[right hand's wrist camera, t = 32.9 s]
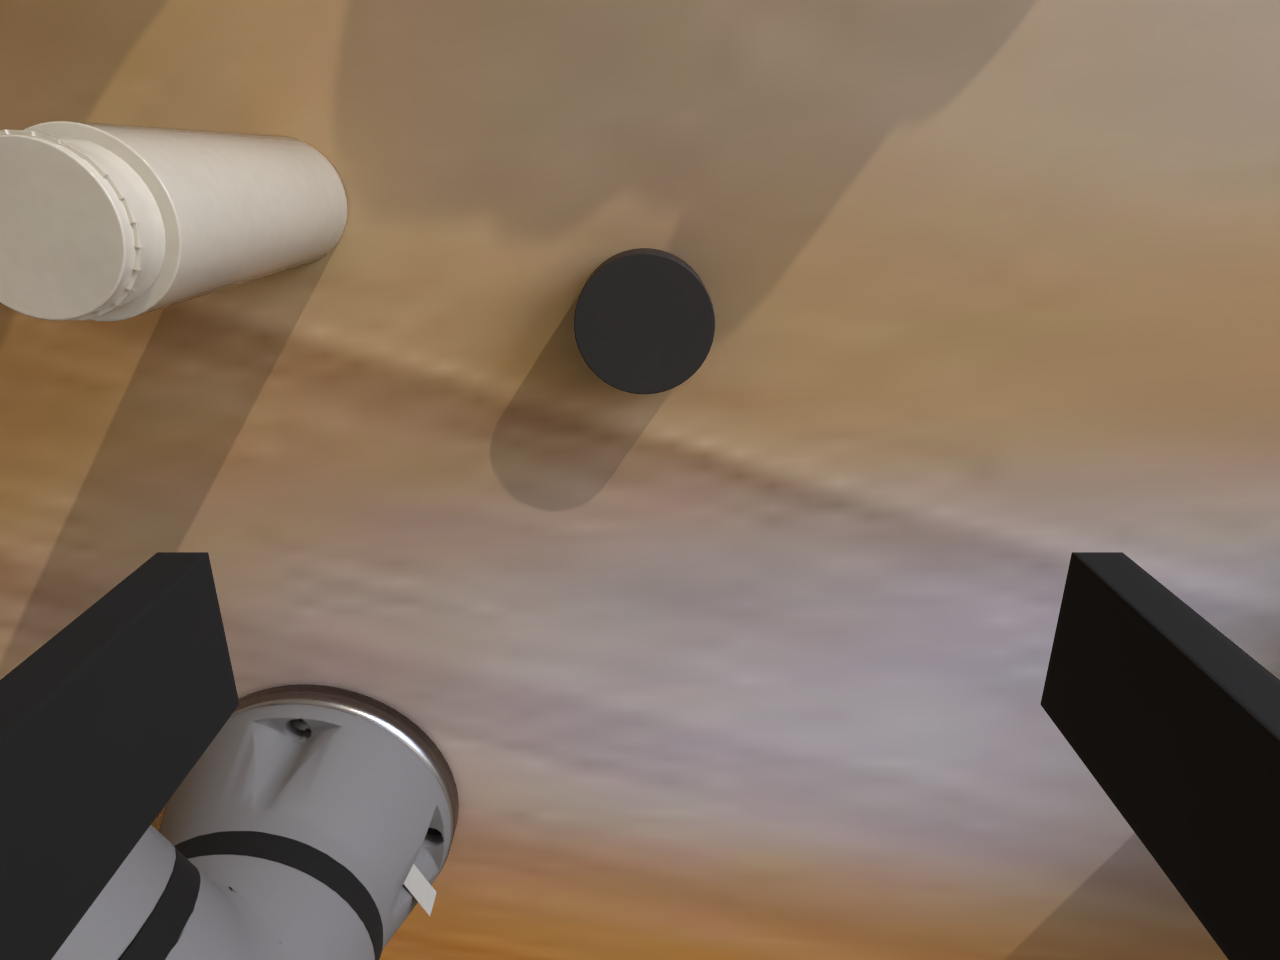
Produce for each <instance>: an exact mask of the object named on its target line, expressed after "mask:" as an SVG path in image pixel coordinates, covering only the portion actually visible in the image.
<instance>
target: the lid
mask: <svg viewBox="0 0 1280 960" xmlns="http://www.w3.org/2000/svg"><path fill="white" fill-rule="evenodd" d="M574 330H575V337H576V341H577V345H578V348H579V350H580V353H581V355H582V357H583V359H584V360H585V362H586V364H587V365H588V366H589V368H590V369H591V370H592V371H593V372H594V373H595V374H596V375H597V376H598V377H599V378H600V379H602V380H603V381H604V382H606V383H607V384H609V385H611V386H613V387H615V388H617V389H619V390H622V391H626V392H629V393H636V394H653V393H659V392H663V391H667V390H669V389H672V388H674V387H676V386H678V385H680V384H682V383H683V382H684V381H686V380H687V379H689V378H690V377H691V376H692V375H693V374H694V373H695V372H696V371H697V370H698V369H699V367H700V366H701V365H702V363H703V362H704V360H705V359H706V357H707V355H708V353H709V351H710V348H711V345H712V342H713V337H714V330H715V317H714V310H713V305H712V302H711V299H710V297H709V295H708V293H707V291H706V289H705V287H704V285H703V283H702V281H701V279H700V278H699V276H698V275H697V274H696V272H695V271H694V270H693V269H692V268H691V267H690V266H689V265H688V264H686V263H685V262H684V261H683V260H681V259H679V258H678V257H676V256H674V255H672V254H670V253H667V252H664V251H661V250H656V249H646V248H641V249H632V250H628V251H624V252H622V253H619V254H617V255H615V256H613V257H611V258H609V259H608V260H606V261H605V262H604V263H602V264H601V265H600V266H599V267H598V268H597V269H596V270H595V271H594V272H593V274H592V275H591V276H590V277H589V279H588V281H587V282H586V284H585V286H584V288H583V290H582V293H581V295H580V297H579V300H578V303H577V307H576V311H575V318H574Z"/></svg>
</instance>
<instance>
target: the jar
mask: <svg viewBox="0 0 1280 960" xmlns="http://www.w3.org/2000/svg"><path fill="white" fill-rule="evenodd" d="M346 220H347V200H346V195H345V191H344V188H343V185H342V182H341V180H340V178H339V176H338V174H337V172H336V171H335V169H334V168H333V166H332V165H331V164H330V163H329V161H328V160H327V159H326V158H325V157H324V156H323V155H322V154H321V153H320V152H318V151H317V150H316V149H314V148H313V147H311V146H310V145H308V144H306V143H304V142H302V141H299V140H297V139H294V138H290V137H284V136H273V135H259V134H245V133H230V132H216V131H201V130H187V129H172V128H158V127H143V126H129V125H114V124H100V123H85V122H71V121H51V122H45V123H40V124H36V125H33V126H30V127H28V128H26V129H24V130H5V129H4V130H1V131H0V303H1V304H3V305H5V306H6V307H8V308H10V309H12V310H14V311H16V312H19V313H22V314H24V315H27V316H30V317H34V318H39V319H44V320H78V321H82V320H86V319H87V320H94V321H118V320H125V319H128V318H132V317H135V316H138V315H141V314H145V313H148V312H151V311H154V310H158V309H161V308H164V307H167V306H171V305H174V304H177V303H180V302H184V301H187V300H190V299H193V298H197V297H200V296H203V295H206V294H209V293H213V292H216V291H219V290H222V289H226V288H229V287H232V286H235V285H239V284H242V283H245V282H248V281H252V280H255V279H258V278H261V277H265V276H268V275H271V274H274V273H278V272H281V271H284V270H287V269H291V268H294V267H297V266H300V265H304V264H307V263H310V262H313V261H316V260H318V259H320V258H322V257H323V256H325V255H326V254H328V253H329V252H330V251H331V250H332V249H333V248H334V247H335V245H336V244H337V243H338V241H339V240H340V238H341V236H342V234H343V231H344V228H345V225H346Z"/></svg>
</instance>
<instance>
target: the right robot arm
mask: <svg viewBox="0 0 1280 960" xmlns="http://www.w3.org/2000/svg"><path fill="white" fill-rule="evenodd" d="M1041 706H1042V707H1043V708H1044V710H1045V711H1046V712H1047V714H1048V715H1049V716H1050V718H1051V719H1052V721H1053V722H1054V723H1055V725H1056V726H1057V727H1058V729H1059V730H1060V731H1061V733H1062V734H1063V735H1064V737H1065V738H1066V740H1067V741H1068V742H1069V744H1070V745H1071V746H1072V748H1073V749H1074V750H1075V752H1076V753H1077V754H1078V756H1079V757H1080V759H1081V760H1082V761H1083V763H1084V764H1085V765H1086V767H1087V768H1088V769H1089V771H1090V772H1091V773H1092V775H1093V776H1094V778H1095V779H1096V780H1097V782H1098V783H1099V784H1100V786H1101V787H1102V788H1103V790H1104V791H1105V792H1106V794H1107V795H1108V797H1109V798H1110V799H1111V801H1112V802H1113V803H1114V805H1115V806H1116V807H1117V809H1118V810H1119V811H1120V813H1121V814H1122V816H1123V817H1124V818H1125V820H1126V821H1127V822H1128V824H1129V825H1130V826H1131V828H1132V829H1133V830H1134V832H1135V833H1136V835H1137V836H1138V837H1139V839H1140V840H1141V841H1142V843H1143V844H1144V845H1145V847H1146V848H1147V849H1148V851H1149V852H1150V854H1151V855H1152V856H1153V858H1154V859H1155V860H1156V862H1157V863H1158V864H1159V866H1160V867H1161V868H1162V870H1163V871H1164V873H1165V874H1166V875H1167V877H1168V878H1169V879H1170V881H1171V882H1172V883H1173V885H1174V886H1175V887H1176V889H1177V890H1178V892H1179V893H1180V894H1181V896H1182V897H1183V898H1184V900H1185V901H1186V902H1187V904H1188V905H1189V906H1190V908H1191V909H1192V911H1193V912H1194V913H1195V915H1196V916H1197V917H1198V919H1199V920H1200V921H1201V923H1202V924H1203V925H1204V927H1205V928H1206V929H1207V931H1208V932H1209V934H1210V935H1211V936H1212V938H1213V939H1214V940H1215V942H1216V943H1217V944H1218V946H1219V947H1220V948H1221V950H1222V951H1223V953H1224V954H1225V955H1226V957H1227V958H1228V959H1229V960H1280V680H1279V679H1277V678H1276V677H1275V676H1274V675H1273V674H1271V673H1270V672H1269V671H1268V670H1266V669H1265V668H1264V667H1263V666H1261V665H1260V664H1259V663H1258V662H1257V661H1255V660H1254V659H1253V658H1252V657H1250V656H1249V655H1248V654H1247V653H1245V652H1244V651H1243V650H1242V649H1241V648H1239V647H1238V646H1237V645H1236V644H1234V643H1233V642H1232V641H1231V640H1229V639H1228V638H1227V637H1226V636H1225V635H1223V634H1222V633H1221V632H1220V631H1218V630H1217V629H1216V628H1215V627H1213V626H1212V625H1211V624H1210V623H1209V622H1207V621H1206V620H1205V619H1204V618H1202V617H1201V616H1200V615H1199V614H1197V613H1196V612H1195V611H1194V610H1193V609H1191V608H1190V607H1189V606H1188V605H1186V604H1185V603H1184V602H1183V601H1181V600H1180V599H1179V598H1178V597H1177V596H1175V595H1174V594H1173V593H1172V592H1170V591H1169V590H1168V589H1167V588H1165V587H1164V586H1163V585H1162V584H1161V583H1159V582H1158V581H1157V580H1156V579H1154V578H1153V577H1152V576H1151V575H1149V574H1148V573H1147V572H1146V571H1144V570H1143V569H1142V568H1141V567H1140V566H1138V565H1137V564H1136V563H1135V562H1133V561H1132V560H1131V559H1130V558H1128V557H1127V556H1126V555H1125V554H1124V553H1072V555H1071V560H1070V565H1069V570H1068V574H1067V579H1066V584H1065V589H1064V594H1063V599H1062V603H1061V608H1060V613H1059V618H1058V623H1057V628H1056V633H1055V637H1054V642H1053V647H1052V652H1051V657H1050V662H1049V666H1048V671H1047V676H1046V681H1045V686H1044V691H1043V695H1042V700H1041ZM165 805H166V807H165V811H164V815H163V818H162V822H161V826H160V830H159V832H158V831H157V830H156V829H155V828H154V827H153V826H152V825H151V824H152V822H153V821H154V820H155V818H156V817H157V816H158V814H159V813H160V811H161V810H162V809H163V807H164V806H165ZM458 808H459V804H458V794H457V788H456V784H455V781H454V778H453V775H452V772H451V770H450V768H449V766H448V763H447V762H446V760H445V758H444V757H443V755H442V753H441V752H440V750H439V749H438V748H437V746H436V745H435V744H434V742H433V741H432V740H431V739H430V738H429V737H428V736H427V735H426V734H425V733H424V732H423V731H422V730H421V729H420V728H419V727H418V726H417V725H416V724H414V723H413V722H412V721H411V720H409V719H408V718H407V717H405V716H404V715H402V714H401V713H399V712H398V711H396V710H395V709H393V708H391V707H389V706H387V705H385V704H384V703H382V702H379V701H377V700H375V699H372V698H370V697H368V696H365V695H362V694H359V693H356V692H352V691H348V690H345V689H340V688H335V687H329V686H320V685H288V686H281V687H274V688H270V689H266V690H262V691H258V692H255V693H253V694H250V695H247V696H245V697H243V698H241V699H239V700H238V695H237V691H236V686H235V681H234V676H233V671H232V666H231V662H230V657H229V652H228V647H227V642H226V637H225V633H224V628H223V623H222V618H221V613H220V608H219V603H218V599H217V594H216V589H215V584H214V579H213V574H212V570H211V565H210V560H209V555H208V553H156V554H155V555H154V556H153V557H152V558H150V559H149V560H148V561H147V562H145V563H144V564H143V565H142V566H140V567H139V568H138V569H137V570H136V571H134V572H133V573H132V574H131V575H129V576H128V577H127V578H126V579H124V580H123V581H122V582H121V583H119V584H118V585H117V586H116V587H115V588H113V589H112V590H111V591H110V592H108V593H107V594H106V595H105V596H103V597H102V598H101V599H100V600H99V601H97V602H96V603H95V604H94V605H92V606H91V607H90V608H89V609H87V610H86V611H85V612H84V613H83V614H81V615H80V616H79V617H78V618H76V619H75V620H74V621H73V622H71V623H70V624H69V625H68V626H67V627H65V628H64V629H63V630H62V631H60V632H59V633H58V634H57V635H55V636H54V637H53V638H52V639H51V640H49V641H48V642H47V643H46V644H44V645H43V646H42V647H41V648H39V649H38V650H37V651H36V652H35V653H33V654H32V655H31V656H30V657H28V658H27V659H26V660H25V661H23V662H22V663H21V664H20V665H19V666H17V667H16V668H15V669H14V670H12V671H11V672H10V673H9V674H7V675H6V676H5V677H4V678H3V679H1V680H0V960H379V959H380V956H381V953H382V950H383V948H384V947H385V945H386V944H387V943H388V941H389V940H390V939H391V937H392V936H393V935H394V933H395V932H396V931H397V929H398V928H399V927H400V926H401V924H402V923H403V922H404V920H405V919H406V918H407V916H408V915H409V914H410V912H411V911H412V910H413V908H414V907H415V906H416V904H417V903H418V902H419V903H420V905H421V906H422V907H423V908H424V910H425V911H426V912H427V913H428V915H429V916H430V914H431V911H432V907H433V904H434V900H435V896H436V893H437V892H436V891H435V890H434V889H433V887H432V886H431V884H432V883H433V882H434V880H435V879H436V877H437V876H438V874H439V873H440V871H441V869H442V868H443V866H444V864H445V861H446V859H447V857H448V853H449V850H450V847H451V843H452V840H453V836H454V832H455V829H456V825H457V819H458Z"/></svg>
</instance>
